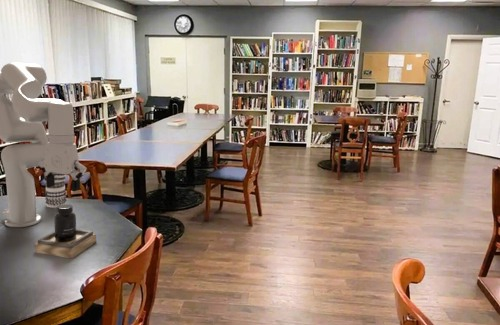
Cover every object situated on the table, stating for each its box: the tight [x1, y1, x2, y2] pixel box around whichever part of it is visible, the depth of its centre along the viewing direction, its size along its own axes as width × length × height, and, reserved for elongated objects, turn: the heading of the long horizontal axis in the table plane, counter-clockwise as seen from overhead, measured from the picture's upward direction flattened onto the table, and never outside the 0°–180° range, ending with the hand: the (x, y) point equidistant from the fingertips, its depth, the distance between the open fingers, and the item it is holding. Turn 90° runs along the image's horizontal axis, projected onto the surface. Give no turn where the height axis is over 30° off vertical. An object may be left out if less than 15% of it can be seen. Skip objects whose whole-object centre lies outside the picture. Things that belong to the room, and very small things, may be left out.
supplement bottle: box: [54, 203, 77, 242], centre depth 132 cm, size 7×7×12 cm
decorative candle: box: [43, 173, 67, 209], centre depth 172 cm, size 9×9×25 cm
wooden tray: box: [33, 228, 97, 259], centre depth 134 cm, size 14×14×4 cm
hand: (63, 188), depth 130 cm, fingers open, 9 cm apart
